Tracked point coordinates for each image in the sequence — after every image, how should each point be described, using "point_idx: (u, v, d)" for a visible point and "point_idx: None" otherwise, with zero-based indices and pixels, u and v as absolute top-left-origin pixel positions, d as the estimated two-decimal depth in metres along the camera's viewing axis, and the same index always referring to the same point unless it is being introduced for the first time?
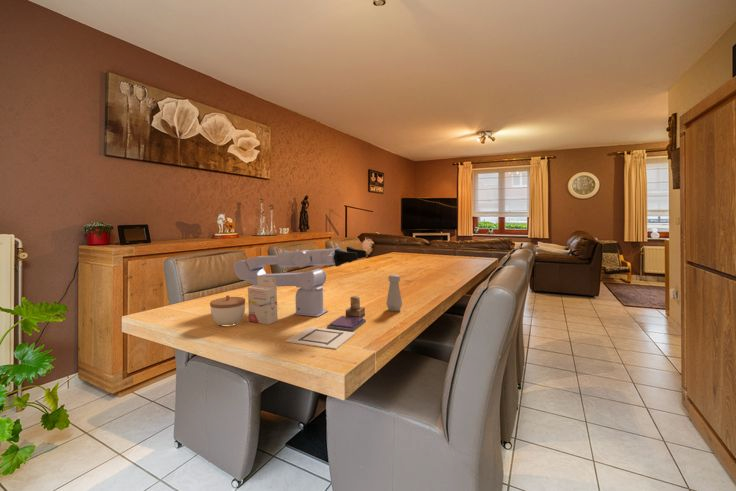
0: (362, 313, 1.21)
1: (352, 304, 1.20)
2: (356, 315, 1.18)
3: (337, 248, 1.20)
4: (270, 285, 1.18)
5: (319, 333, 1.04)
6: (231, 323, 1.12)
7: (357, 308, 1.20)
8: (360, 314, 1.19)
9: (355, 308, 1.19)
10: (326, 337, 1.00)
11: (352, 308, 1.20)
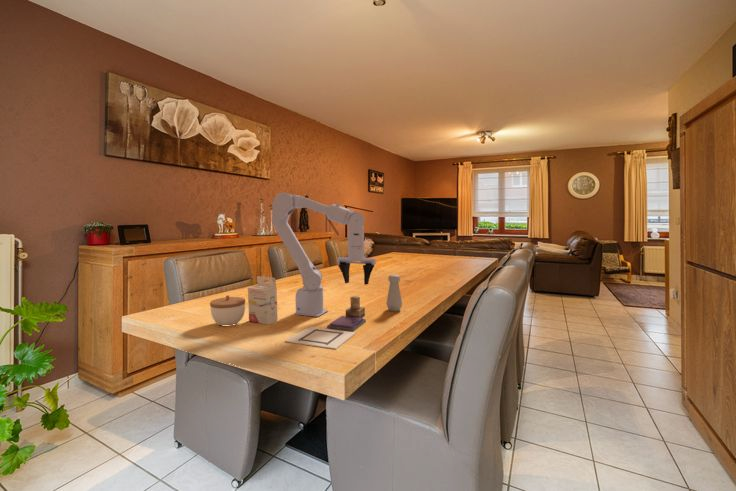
0: (362, 313, 1.21)
1: (352, 304, 1.20)
2: (356, 315, 1.18)
3: None
4: (270, 285, 1.18)
5: (319, 333, 1.04)
6: (231, 323, 1.12)
7: (357, 308, 1.20)
8: (360, 314, 1.19)
9: (355, 308, 1.19)
10: (326, 337, 1.00)
11: (352, 308, 1.20)
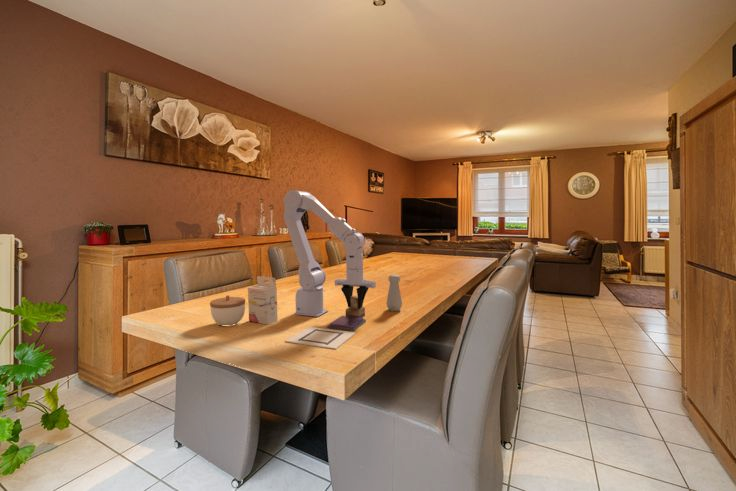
0: (362, 313, 1.21)
1: (352, 304, 1.20)
2: (356, 315, 1.18)
3: None
4: (270, 285, 1.18)
5: (319, 333, 1.04)
6: (231, 323, 1.12)
7: (357, 308, 1.20)
8: (360, 314, 1.19)
9: (355, 308, 1.19)
10: (326, 337, 1.00)
11: (352, 308, 1.20)
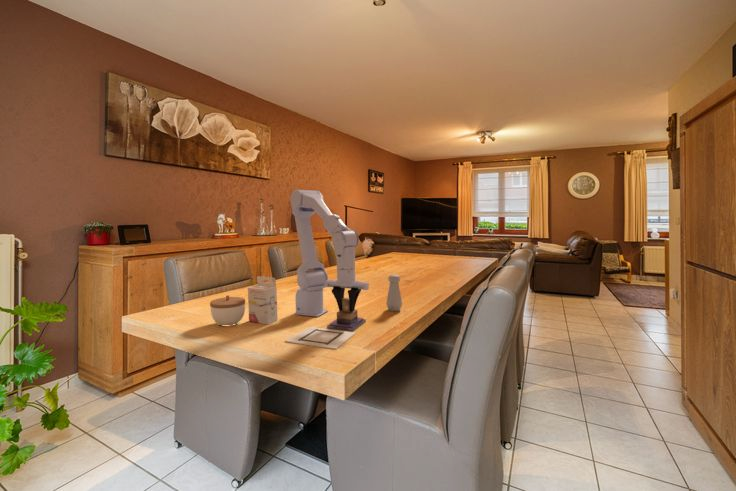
0: (354, 316, 1.12)
1: (344, 306, 1.11)
2: (348, 318, 1.10)
3: None
4: (270, 285, 1.18)
5: (319, 333, 1.04)
6: (231, 323, 1.12)
7: (349, 311, 1.11)
8: (352, 317, 1.10)
9: (347, 311, 1.11)
10: (326, 337, 1.00)
11: (344, 311, 1.11)
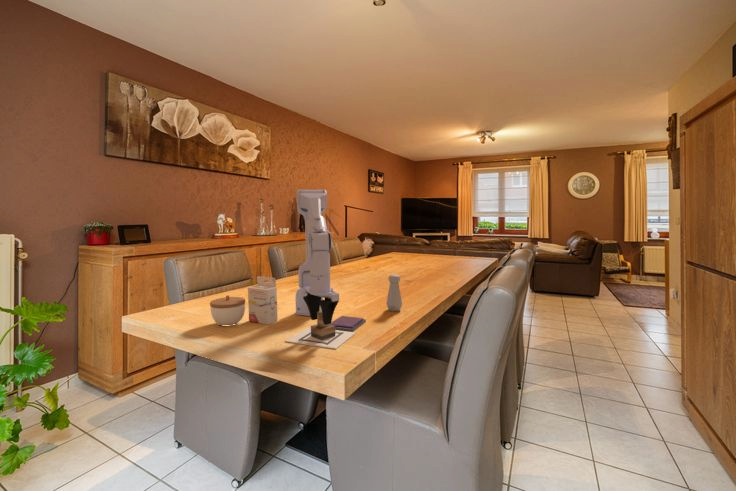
0: (329, 332, 1.00)
1: (317, 320, 1.00)
2: (319, 334, 0.99)
3: None
4: (270, 285, 1.18)
5: None
6: (231, 323, 1.12)
7: (323, 326, 1.00)
8: (324, 333, 0.99)
9: (320, 325, 1.00)
10: None
11: (317, 325, 1.01)
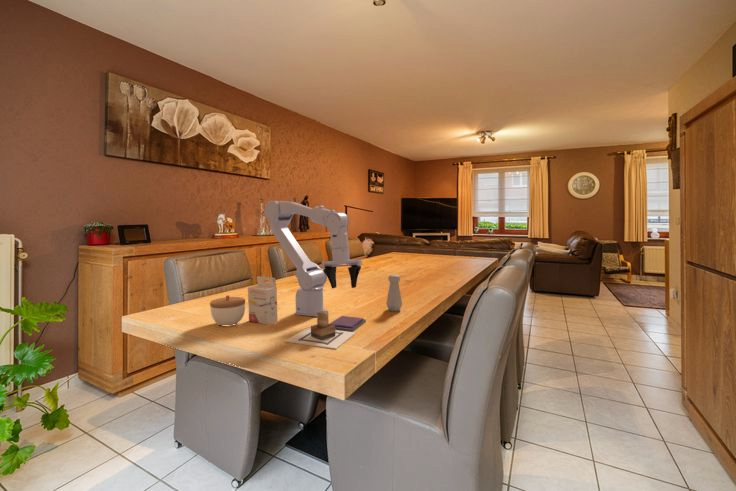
0: (329, 332, 1.00)
1: (317, 320, 1.00)
2: (319, 334, 0.99)
3: None
4: (270, 285, 1.18)
5: None
6: (231, 323, 1.12)
7: (323, 326, 1.00)
8: (324, 333, 0.99)
9: (320, 325, 1.00)
10: None
11: (317, 325, 1.01)
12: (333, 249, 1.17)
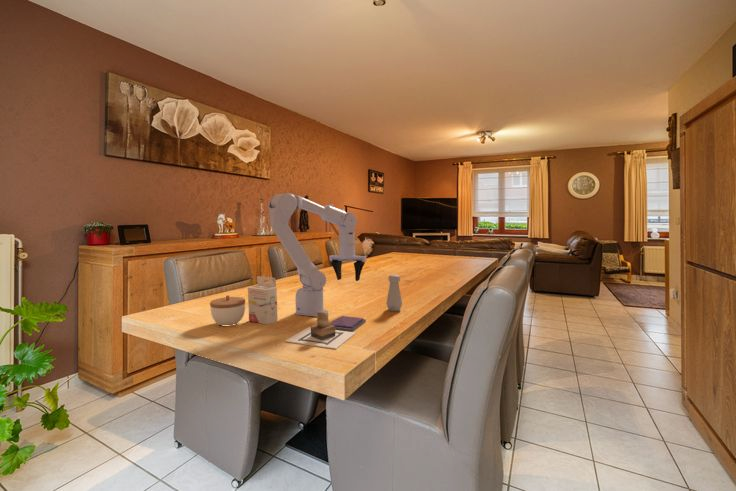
0: (329, 332, 1.00)
1: (317, 320, 1.00)
2: (319, 334, 0.99)
3: None
4: (270, 285, 1.18)
5: None
6: (231, 323, 1.12)
7: (323, 326, 1.00)
8: (324, 333, 0.99)
9: (320, 325, 1.00)
10: None
11: (317, 325, 1.01)
12: (341, 245, 1.30)
